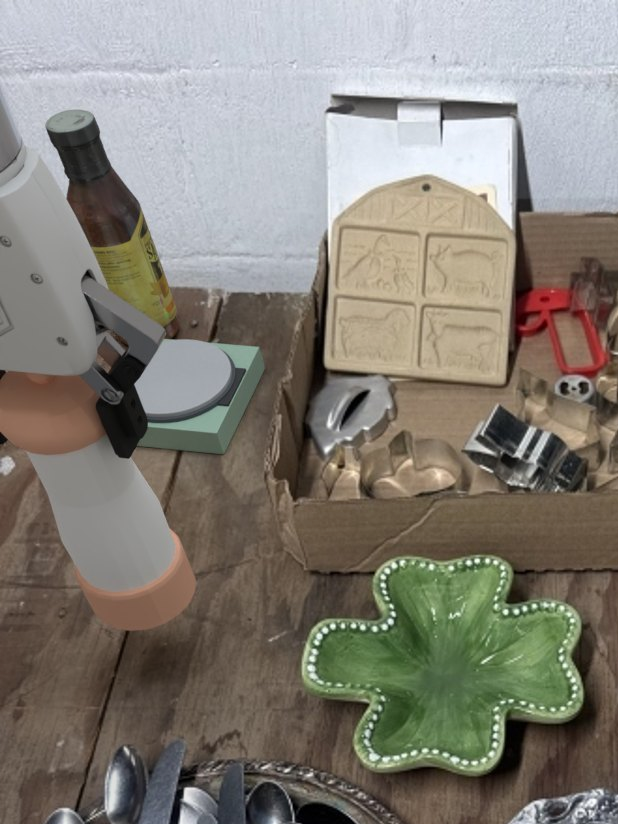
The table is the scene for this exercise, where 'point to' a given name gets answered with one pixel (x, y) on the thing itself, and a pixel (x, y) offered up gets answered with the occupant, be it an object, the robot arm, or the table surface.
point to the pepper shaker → (97, 502)
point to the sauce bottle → (111, 219)
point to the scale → (197, 393)
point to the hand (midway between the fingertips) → (70, 434)
